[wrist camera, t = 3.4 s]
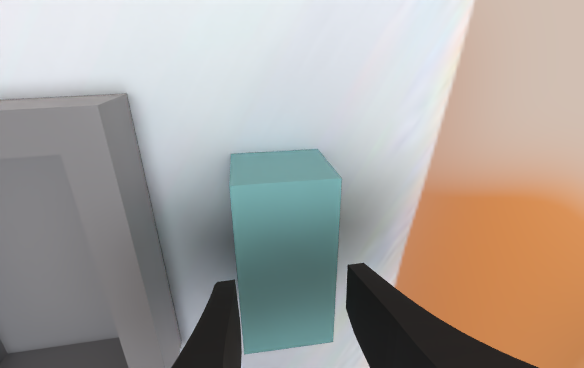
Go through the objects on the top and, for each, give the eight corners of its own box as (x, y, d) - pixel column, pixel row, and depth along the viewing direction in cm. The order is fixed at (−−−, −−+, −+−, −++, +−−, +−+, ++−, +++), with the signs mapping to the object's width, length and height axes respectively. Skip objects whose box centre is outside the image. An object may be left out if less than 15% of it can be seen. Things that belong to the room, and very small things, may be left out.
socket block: (181, 342, 18) (172, 394, 15) (-8, 371, 17) (-55, 433, 14) (126, 93, 13) (97, 105, 10) (-153, 107, 12) (-272, 125, 9)
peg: (313, 284, 18) (332, 342, 15) (242, 292, 18) (244, 354, 14) (316, 147, 15) (341, 178, 12) (231, 152, 15) (229, 185, 11)
